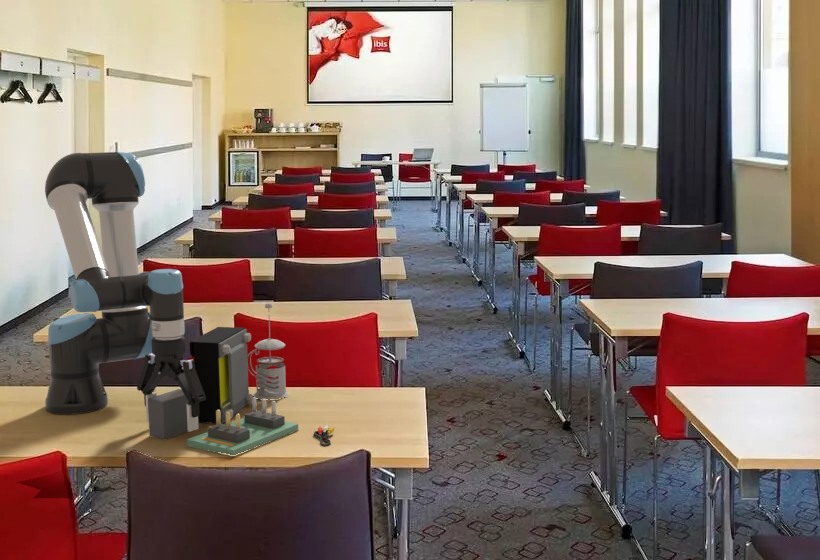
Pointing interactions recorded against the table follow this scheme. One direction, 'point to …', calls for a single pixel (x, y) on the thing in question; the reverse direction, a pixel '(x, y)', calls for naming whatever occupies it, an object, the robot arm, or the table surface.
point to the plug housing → (168, 414)
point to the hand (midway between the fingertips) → (172, 425)
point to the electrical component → (222, 371)
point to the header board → (247, 444)
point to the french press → (270, 370)
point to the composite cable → (324, 434)
